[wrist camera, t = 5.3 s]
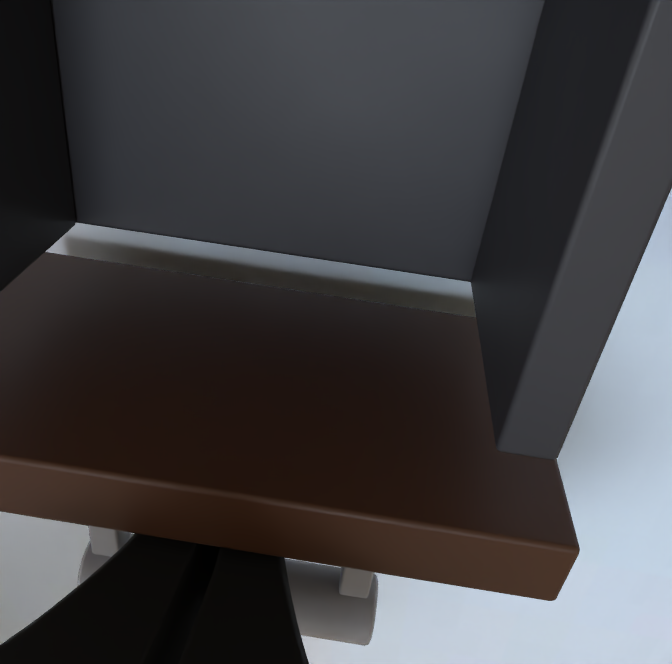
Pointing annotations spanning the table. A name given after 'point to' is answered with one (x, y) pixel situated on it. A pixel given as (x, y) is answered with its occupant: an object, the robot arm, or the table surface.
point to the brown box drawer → (328, 244)
